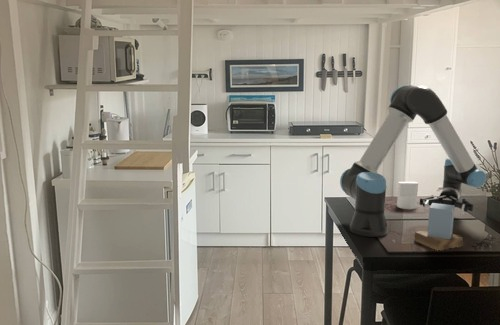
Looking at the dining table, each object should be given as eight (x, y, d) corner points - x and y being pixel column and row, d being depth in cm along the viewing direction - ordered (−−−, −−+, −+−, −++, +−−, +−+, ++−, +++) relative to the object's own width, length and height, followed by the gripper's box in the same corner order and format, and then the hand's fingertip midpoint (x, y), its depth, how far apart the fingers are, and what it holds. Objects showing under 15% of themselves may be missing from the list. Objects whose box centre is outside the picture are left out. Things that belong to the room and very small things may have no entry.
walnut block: (437, 252, 178) (438, 241, 178) (414, 241, 189) (415, 231, 188) (462, 247, 183) (462, 237, 182) (438, 237, 194) (439, 228, 193)
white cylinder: (412, 204, 241) (414, 180, 239) (419, 209, 233) (421, 184, 230) (394, 204, 241) (396, 180, 239) (400, 209, 232) (402, 184, 230)
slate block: (450, 239, 180) (452, 210, 178) (427, 235, 184) (429, 207, 182) (452, 233, 187) (454, 205, 185) (430, 230, 191) (432, 202, 189)
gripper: (480, 209, 206) (477, 223, 187) (418, 202, 217) (410, 214, 198) (481, 192, 204) (479, 204, 186) (419, 185, 216) (411, 196, 197)
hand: (443, 209), depth 192 cm, fingers open, 13 cm apart
